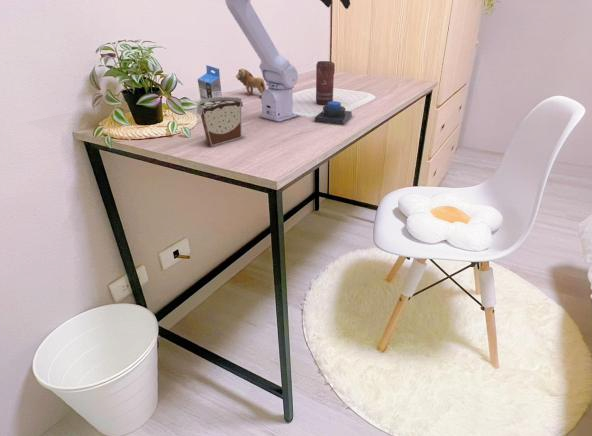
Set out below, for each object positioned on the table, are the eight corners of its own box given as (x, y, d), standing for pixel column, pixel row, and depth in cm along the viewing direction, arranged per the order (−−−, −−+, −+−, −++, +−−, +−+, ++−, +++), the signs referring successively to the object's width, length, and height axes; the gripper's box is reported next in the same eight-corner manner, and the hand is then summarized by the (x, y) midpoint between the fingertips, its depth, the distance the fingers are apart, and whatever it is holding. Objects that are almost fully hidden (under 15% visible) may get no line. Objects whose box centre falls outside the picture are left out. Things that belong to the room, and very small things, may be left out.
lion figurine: (235, 94, 141) (233, 68, 136) (244, 91, 145) (242, 67, 140) (266, 99, 135) (265, 73, 131) (275, 96, 139) (274, 71, 135)
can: (333, 106, 131) (334, 63, 123) (315, 105, 131) (315, 62, 123) (333, 101, 136) (335, 61, 129) (316, 101, 136) (317, 60, 129)
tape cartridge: (200, 104, 126) (194, 65, 119) (211, 102, 128) (206, 64, 122) (213, 110, 120) (208, 69, 114) (224, 108, 123) (219, 68, 116)
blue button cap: (338, 111, 113) (338, 104, 112) (326, 109, 114) (326, 103, 113) (341, 108, 116) (342, 102, 115) (329, 106, 117) (329, 100, 116)
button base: (343, 125, 111) (343, 113, 109) (314, 122, 113) (314, 110, 111) (351, 116, 120) (352, 105, 118) (325, 113, 122) (325, 102, 120)
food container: (231, 131, 102) (227, 94, 97) (246, 136, 99) (242, 98, 94) (191, 141, 94) (185, 101, 89) (206, 147, 90) (200, 106, 85)
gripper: (345, -43, 105) (362, -4, 117) (307, -43, 113) (327, -6, 124) (334, -23, 104) (352, 14, 116) (297, -24, 112) (317, 12, 123)
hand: (338, 5), depth 120 cm, fingers open, 7 cm apart
